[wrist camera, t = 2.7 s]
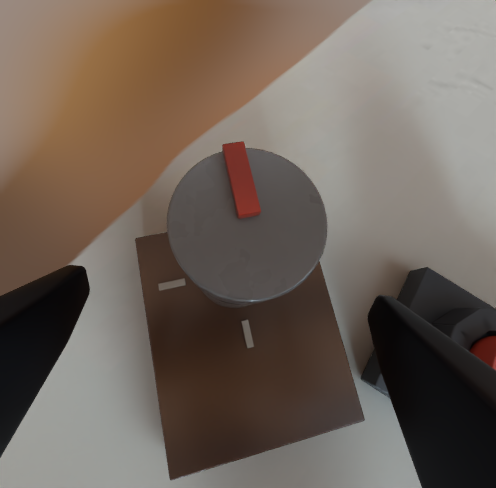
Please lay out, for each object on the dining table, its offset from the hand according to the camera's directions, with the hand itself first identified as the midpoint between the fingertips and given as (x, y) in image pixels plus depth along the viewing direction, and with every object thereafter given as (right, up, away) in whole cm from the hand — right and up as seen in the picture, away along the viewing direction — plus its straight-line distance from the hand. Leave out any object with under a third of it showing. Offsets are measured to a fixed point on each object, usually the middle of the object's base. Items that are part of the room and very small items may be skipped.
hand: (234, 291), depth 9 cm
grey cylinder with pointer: (0, 0, +7) cm, 7 cm away
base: (0, -4, +9) cm, 9 cm away
